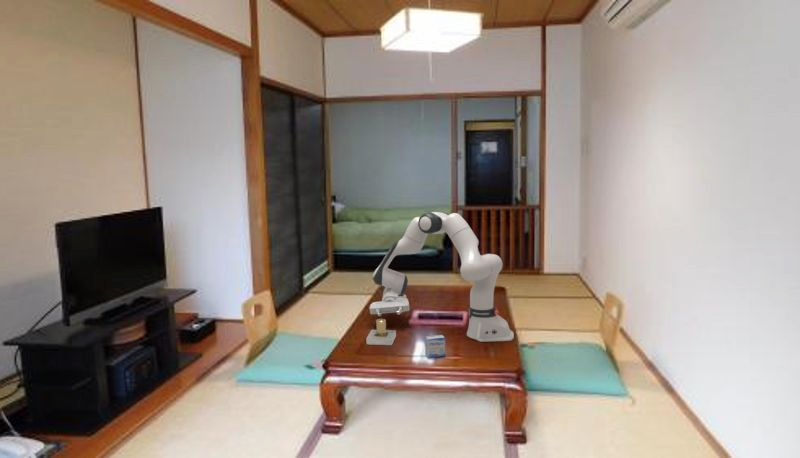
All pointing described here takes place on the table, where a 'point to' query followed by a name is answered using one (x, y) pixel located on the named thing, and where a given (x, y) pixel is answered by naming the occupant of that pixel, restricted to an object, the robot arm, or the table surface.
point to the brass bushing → (381, 327)
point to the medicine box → (434, 346)
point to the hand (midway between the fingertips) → (388, 314)
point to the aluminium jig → (381, 338)
